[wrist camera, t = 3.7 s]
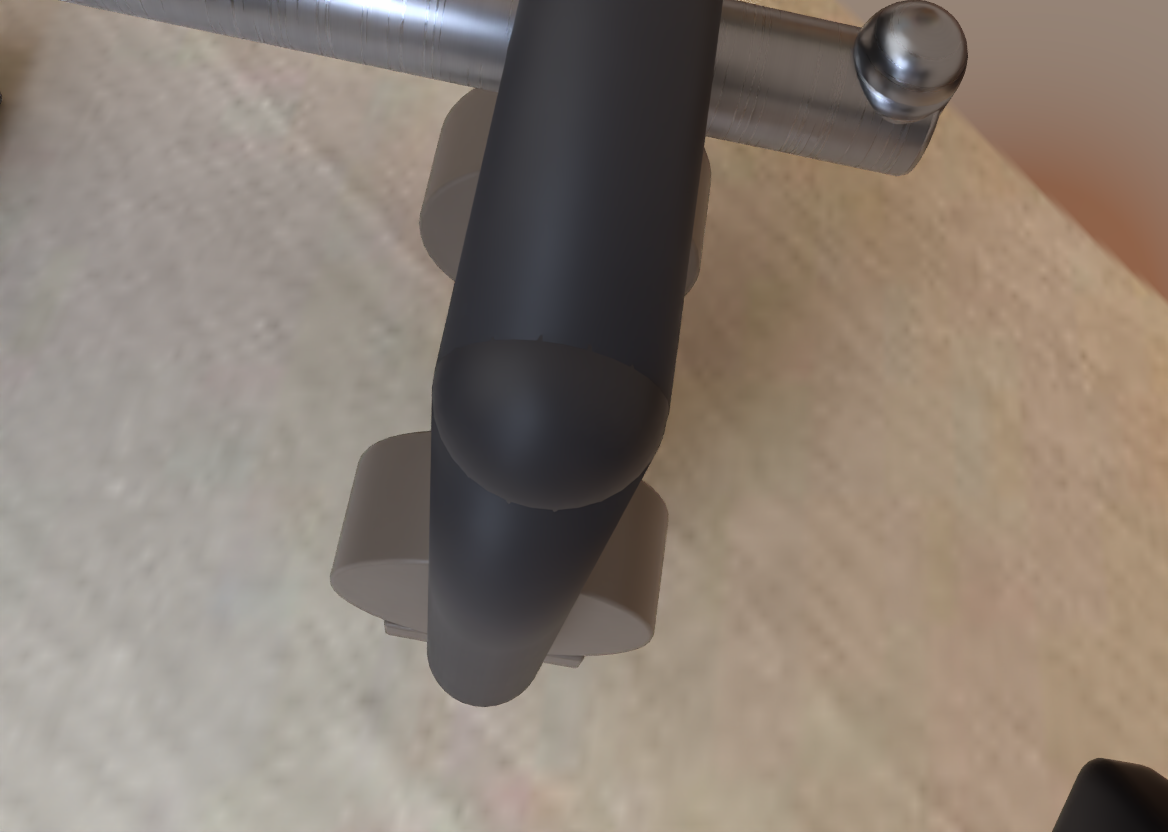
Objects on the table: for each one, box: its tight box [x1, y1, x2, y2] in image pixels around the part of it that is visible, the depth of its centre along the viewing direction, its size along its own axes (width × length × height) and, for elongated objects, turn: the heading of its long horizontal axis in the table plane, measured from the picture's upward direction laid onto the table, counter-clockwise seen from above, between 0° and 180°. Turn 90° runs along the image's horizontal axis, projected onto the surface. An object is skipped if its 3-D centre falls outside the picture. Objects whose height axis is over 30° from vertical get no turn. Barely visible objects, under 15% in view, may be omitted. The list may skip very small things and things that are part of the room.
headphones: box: [330, 0, 723, 707], centre depth 12 cm, size 9×4×11 cm, turn 171°
